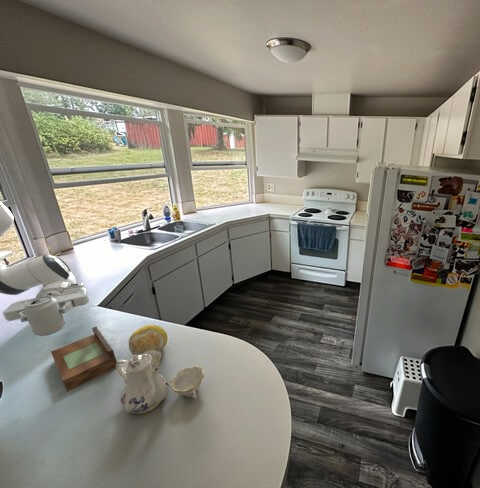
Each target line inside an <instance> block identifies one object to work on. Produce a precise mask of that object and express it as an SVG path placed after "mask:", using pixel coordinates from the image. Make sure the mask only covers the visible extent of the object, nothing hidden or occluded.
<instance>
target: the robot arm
mask: <svg viewBox="0 0 480 488" xmlns="http://www.w3.org/2000/svg"><path fill="white" fill-rule="evenodd" d="M14 218H15V217H14V215H13V213H12V212H11V210H10V209H9V208H8V207H7V206H6V205H5V204H4V203H3V202H2V201H0V238H1V237H3V236H4V235H5V234H7V233H8V232H9V230H10V229H11V228H12V226H13V224H14V221H15V219H14ZM40 285H42V287H40V290H39V291H38V292H37V293H36V295H35V298H37V297H40V296H52V297H53V298H54V299H56V300H57V302H58V305H59V307H60V308H59V312H60V314H61V313H62V314H65V313H67V311H69V310H70V309H72V308H76V307H80V306H86V305H87V304H89V302H90V298H89V294H88V291H87V288H86V287H85V285H84V284H83V283H77V279H76V276H75V275H74V273H72V272H71V269H70V267H69V265H68V264H67V263H66V262H65V261H64V260H63V259H62V258H60V257H58V256H54V255H51V254H43V255H41V256H37V257H33V258H32V259H29V260H26V261H24V262H21V263H17V264H16V265H13V266H6V265H4V264H3V262H2V261H1V260H0V294H2V295H10V296H17V295H21V294H22V293H25V292H27V291H28V290H31V289H32V288H33V289H34V288H35V287H38V286H40ZM31 299H33V298H28V299H22V300H18V301H15V302H12V303H11V304H10V305H9V306H8V307H6V308H5V309H4V310H3V311H2V315H3V317H4V320H5V321H8V322H12V321H17V320H20V322H21V323H25V322H28V320H27V317H26V315H25V313H24V310H23V308H24V307H25V303H26V302H27V301H29V300H31Z"/></svg>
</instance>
